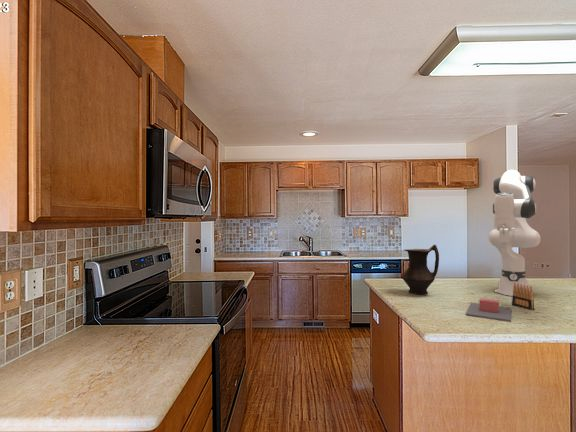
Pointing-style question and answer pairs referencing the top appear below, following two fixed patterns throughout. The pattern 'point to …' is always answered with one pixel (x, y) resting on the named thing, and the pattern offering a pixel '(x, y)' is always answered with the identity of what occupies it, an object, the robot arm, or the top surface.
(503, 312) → the mat
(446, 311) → the top surface
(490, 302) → the red rectangular block
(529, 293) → the ammunition clip
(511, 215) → the robot arm
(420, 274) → the jug
